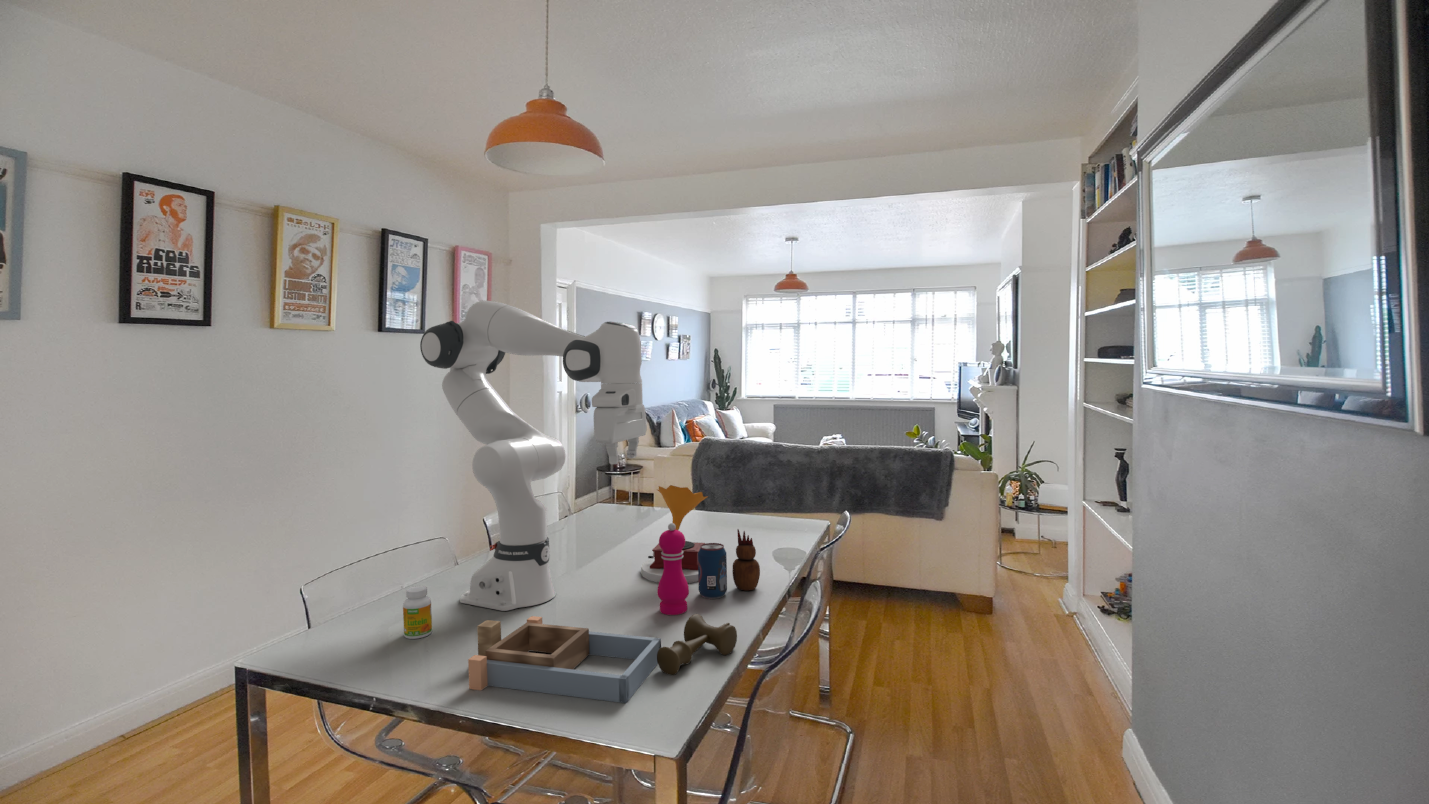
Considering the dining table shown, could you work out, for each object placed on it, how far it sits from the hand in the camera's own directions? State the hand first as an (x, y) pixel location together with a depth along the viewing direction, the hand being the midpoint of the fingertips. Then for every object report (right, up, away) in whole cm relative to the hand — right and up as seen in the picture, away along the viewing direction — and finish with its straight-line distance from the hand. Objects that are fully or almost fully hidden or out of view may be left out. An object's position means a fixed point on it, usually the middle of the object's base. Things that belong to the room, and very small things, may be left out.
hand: (623, 460), depth 140 cm
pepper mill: (+10, -35, +7) cm, 37 cm away
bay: (-6, -36, -23) cm, 43 cm away
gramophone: (+10, -34, +36) cm, 51 cm away
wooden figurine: (+28, -34, +21) cm, 49 cm away
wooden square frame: (-15, -36, -20) cm, 44 cm away
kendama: (+17, -36, -16) cm, 43 cm away
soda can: (+19, -34, +17) cm, 43 cm away
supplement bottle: (-43, -36, -4) cm, 56 cm away
